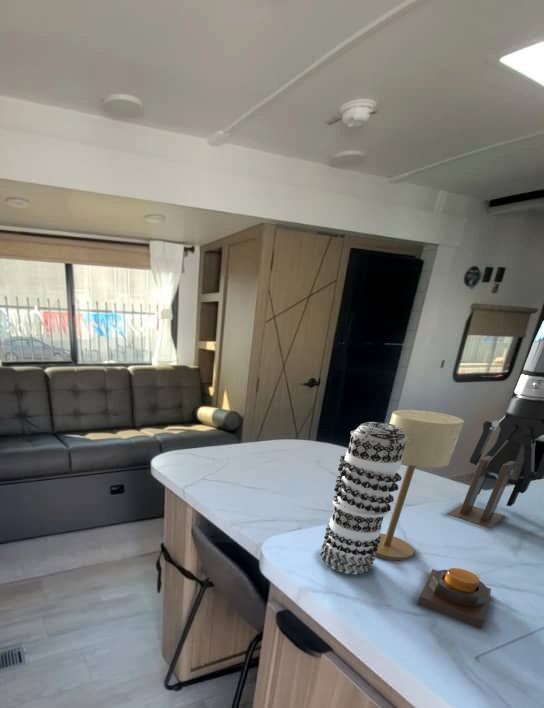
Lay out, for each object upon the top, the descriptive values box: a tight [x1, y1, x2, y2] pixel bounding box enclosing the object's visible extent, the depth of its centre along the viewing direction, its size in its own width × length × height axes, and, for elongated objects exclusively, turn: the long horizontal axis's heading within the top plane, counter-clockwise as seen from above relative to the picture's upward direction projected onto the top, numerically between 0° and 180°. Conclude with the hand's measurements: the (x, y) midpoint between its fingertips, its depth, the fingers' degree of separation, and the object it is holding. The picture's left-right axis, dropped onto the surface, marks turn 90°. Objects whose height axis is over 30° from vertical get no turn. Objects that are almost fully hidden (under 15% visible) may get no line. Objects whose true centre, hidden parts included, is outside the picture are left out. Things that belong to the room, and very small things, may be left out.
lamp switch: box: [485, 459, 518, 486], centre depth 88 cm, size 12×6×2 cm, turn 128°
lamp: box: [374, 409, 465, 562], centre depth 71 cm, size 10×10×26 cm
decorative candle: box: [319, 421, 409, 575], centre depth 66 cm, size 9×9×25 cm
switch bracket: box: [446, 455, 517, 529], centre depth 87 cm, size 10×8×14 cm
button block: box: [416, 568, 492, 630], centre depth 62 cm, size 10×8×4 cm
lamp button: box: [444, 567, 481, 592], centre depth 61 cm, size 4×4×2 cm
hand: (492, 499), depth 94 cm, fingers closed on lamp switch, 6 cm apart
